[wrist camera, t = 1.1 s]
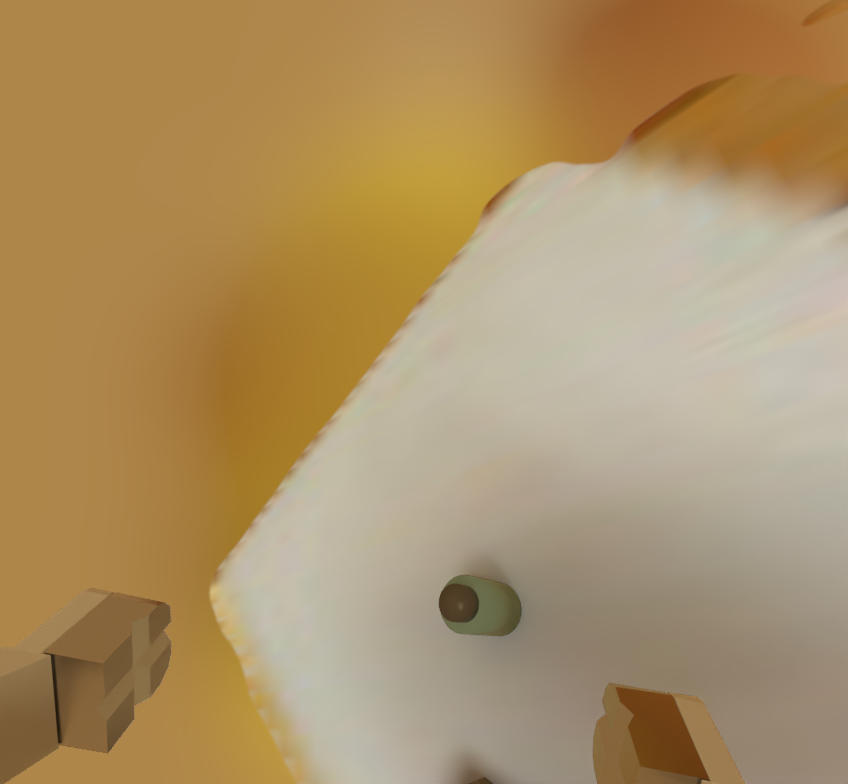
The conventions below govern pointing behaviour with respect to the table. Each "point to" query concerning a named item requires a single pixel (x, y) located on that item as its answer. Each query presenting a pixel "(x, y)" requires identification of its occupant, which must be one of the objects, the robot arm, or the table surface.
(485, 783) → the octagon ring base
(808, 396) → the table surface
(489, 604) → the bottle
